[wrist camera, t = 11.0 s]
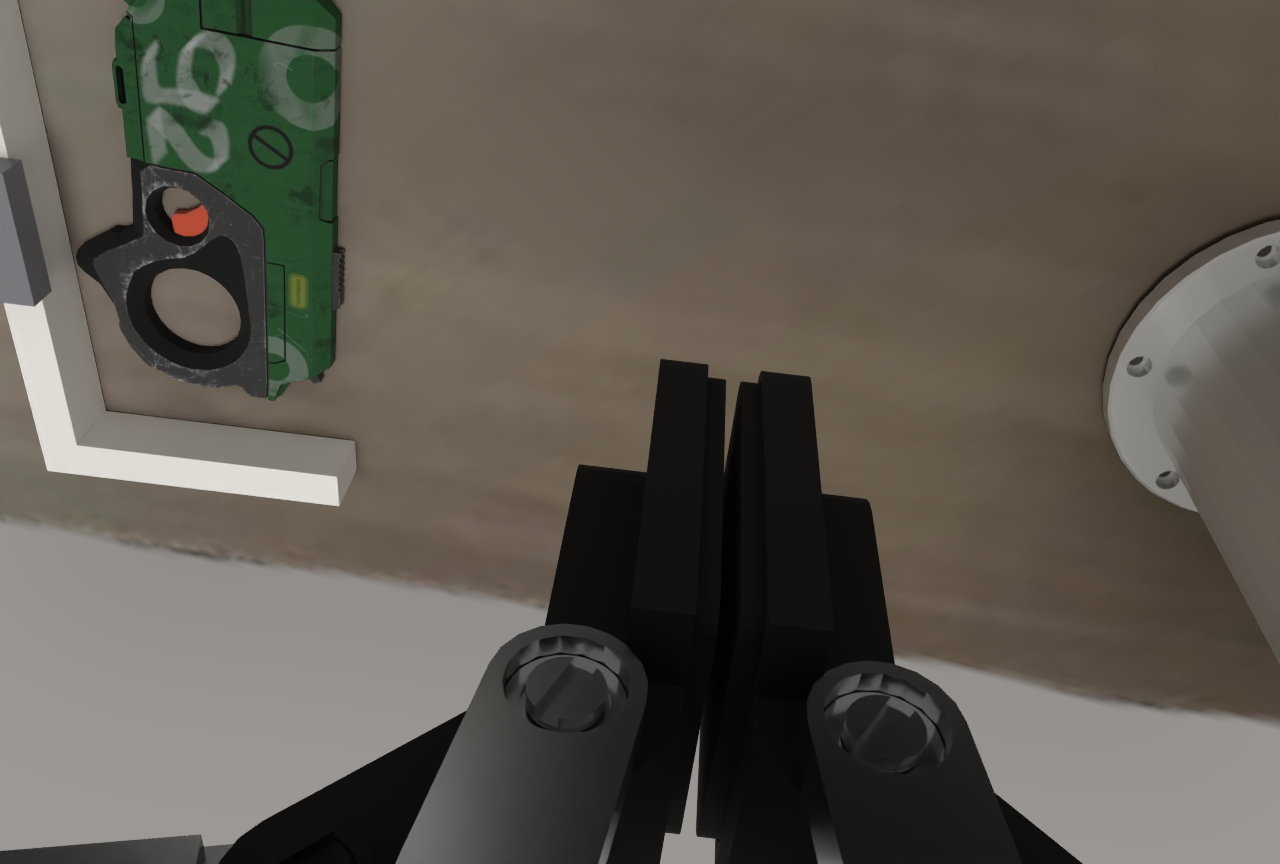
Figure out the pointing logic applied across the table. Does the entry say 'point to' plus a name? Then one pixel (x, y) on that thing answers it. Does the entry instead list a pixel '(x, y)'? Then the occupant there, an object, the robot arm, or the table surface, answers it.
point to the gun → (231, 183)
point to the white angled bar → (63, 355)
